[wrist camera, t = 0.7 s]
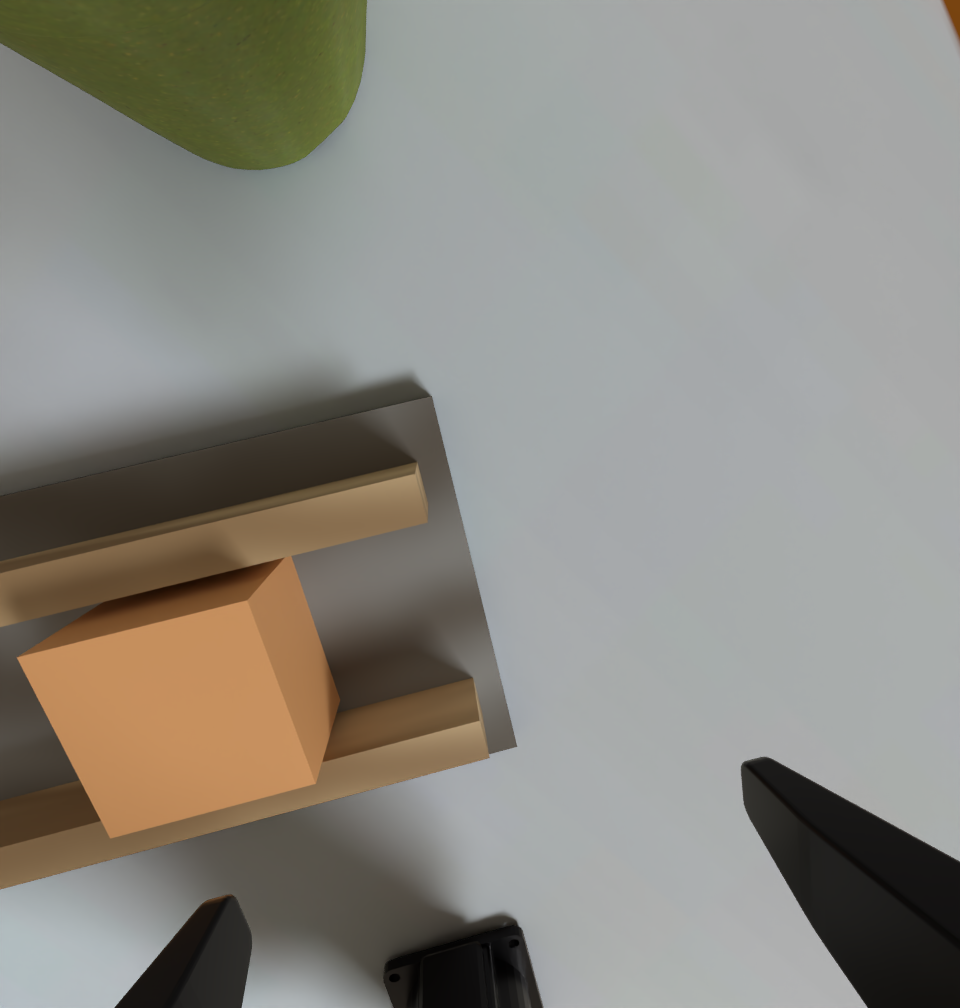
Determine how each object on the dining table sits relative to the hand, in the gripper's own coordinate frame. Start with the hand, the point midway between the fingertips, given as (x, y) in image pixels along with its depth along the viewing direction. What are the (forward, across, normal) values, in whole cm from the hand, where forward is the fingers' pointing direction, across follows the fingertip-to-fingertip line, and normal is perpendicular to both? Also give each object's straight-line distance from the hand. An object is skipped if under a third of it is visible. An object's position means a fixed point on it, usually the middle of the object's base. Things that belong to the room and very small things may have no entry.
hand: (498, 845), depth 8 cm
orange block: (+10, +8, 0) cm, 13 cm away
